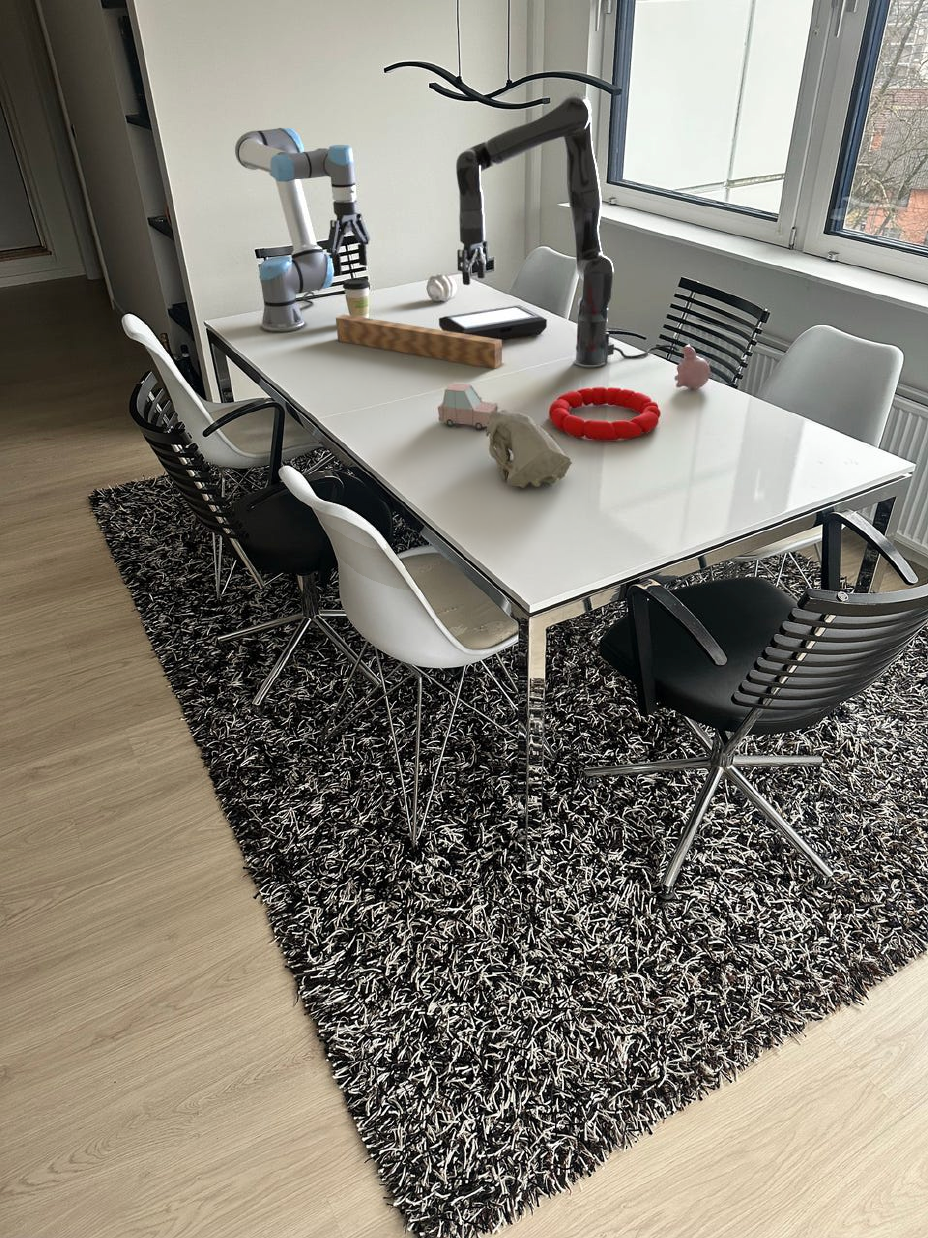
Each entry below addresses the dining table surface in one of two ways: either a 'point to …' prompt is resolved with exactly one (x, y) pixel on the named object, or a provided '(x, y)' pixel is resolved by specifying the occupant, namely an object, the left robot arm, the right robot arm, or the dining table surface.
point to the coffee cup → (357, 296)
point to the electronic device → (496, 323)
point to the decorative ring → (604, 428)
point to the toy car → (465, 406)
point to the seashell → (441, 287)
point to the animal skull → (525, 450)
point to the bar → (420, 341)
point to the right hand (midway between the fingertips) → (474, 281)
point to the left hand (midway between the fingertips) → (350, 269)
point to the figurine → (692, 370)
